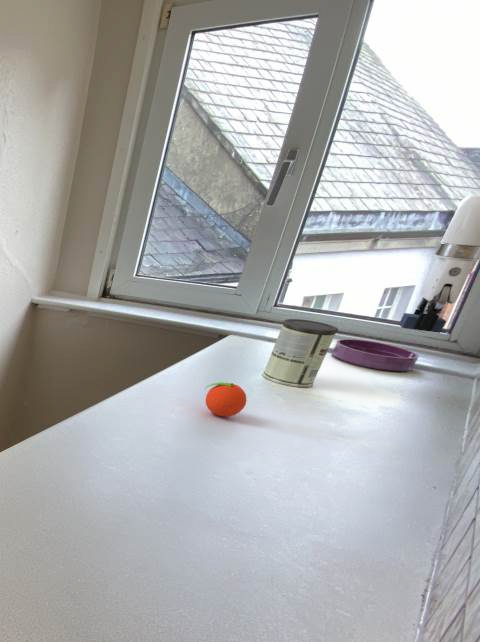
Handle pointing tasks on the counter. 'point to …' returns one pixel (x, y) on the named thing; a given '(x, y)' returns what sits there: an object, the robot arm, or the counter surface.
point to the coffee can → (299, 352)
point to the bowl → (374, 355)
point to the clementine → (225, 399)
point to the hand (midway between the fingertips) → (419, 327)
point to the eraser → (411, 319)
